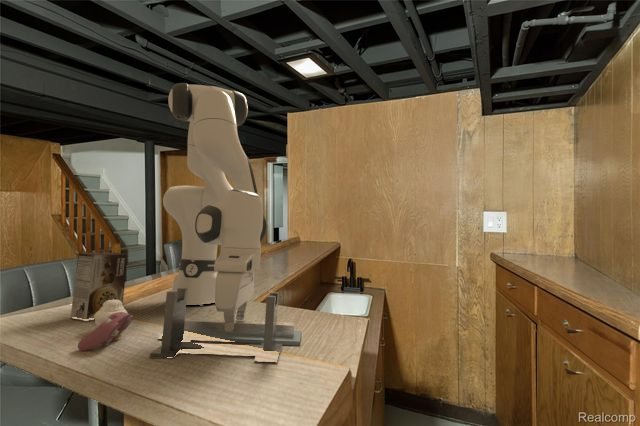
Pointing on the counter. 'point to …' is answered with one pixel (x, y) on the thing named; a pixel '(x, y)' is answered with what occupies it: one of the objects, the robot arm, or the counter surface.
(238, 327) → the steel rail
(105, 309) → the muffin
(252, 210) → the robot arm
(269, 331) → the rail rack
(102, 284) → the coffee box
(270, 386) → the counter surface
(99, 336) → the video game controller
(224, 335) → the slate mat
